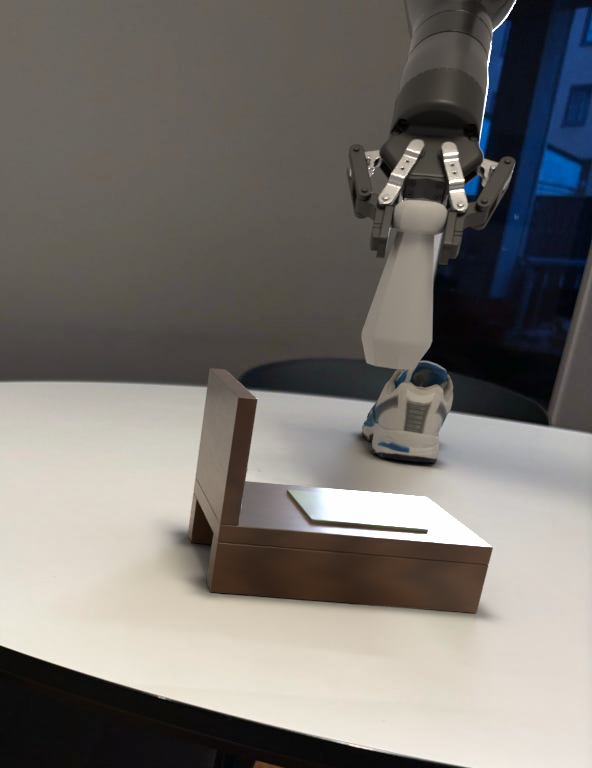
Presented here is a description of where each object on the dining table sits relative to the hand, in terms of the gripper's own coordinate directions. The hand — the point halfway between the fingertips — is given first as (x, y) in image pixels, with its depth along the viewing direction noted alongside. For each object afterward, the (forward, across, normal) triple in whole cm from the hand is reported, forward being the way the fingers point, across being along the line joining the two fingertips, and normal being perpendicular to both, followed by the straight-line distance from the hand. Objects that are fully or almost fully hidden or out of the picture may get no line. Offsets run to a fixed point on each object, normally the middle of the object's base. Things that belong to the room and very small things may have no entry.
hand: (413, 252), depth 81 cm
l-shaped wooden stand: (+29, -2, +2) cm, 29 cm away
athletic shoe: (-11, +4, +43) cm, 44 cm away
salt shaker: (+5, 0, +8) cm, 9 cm away
